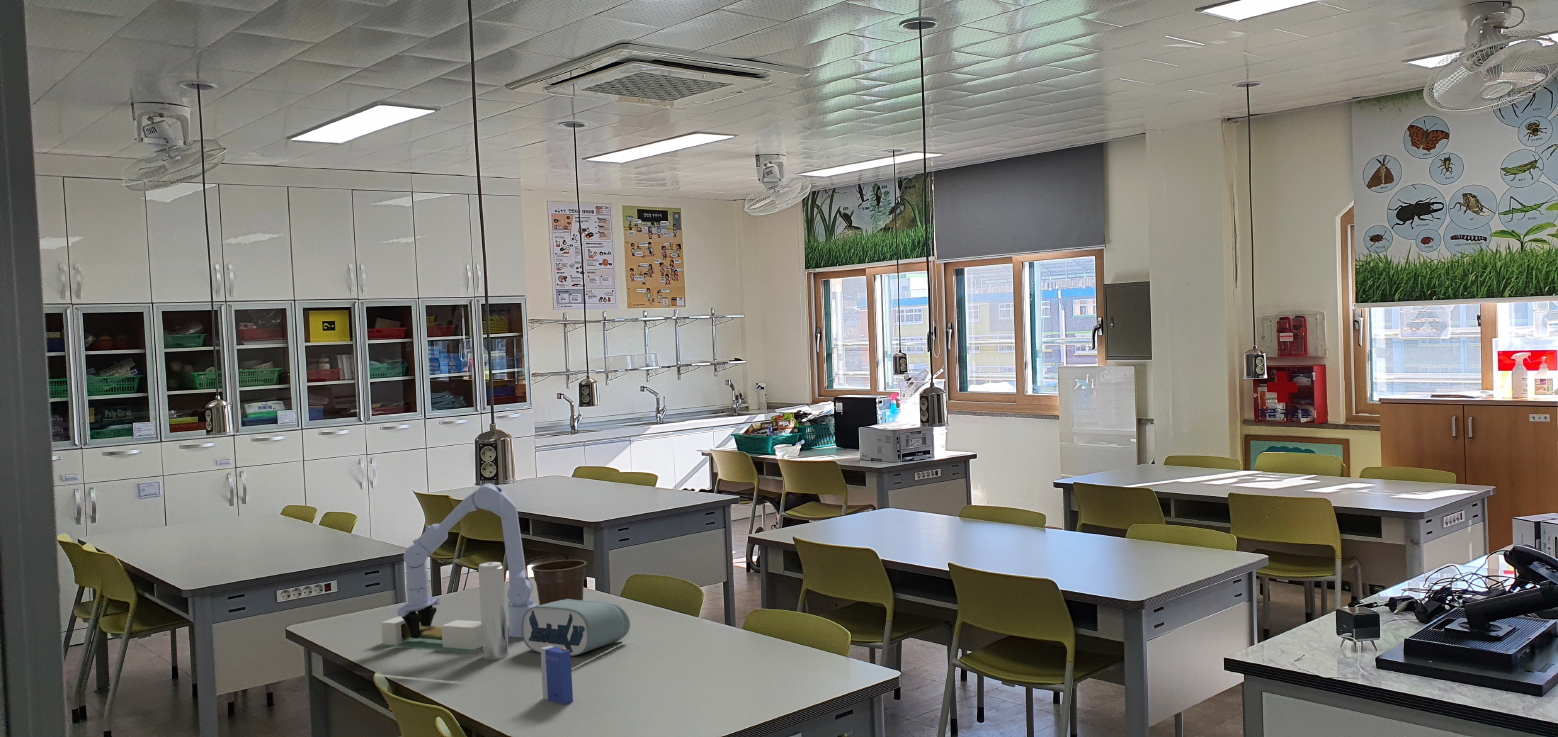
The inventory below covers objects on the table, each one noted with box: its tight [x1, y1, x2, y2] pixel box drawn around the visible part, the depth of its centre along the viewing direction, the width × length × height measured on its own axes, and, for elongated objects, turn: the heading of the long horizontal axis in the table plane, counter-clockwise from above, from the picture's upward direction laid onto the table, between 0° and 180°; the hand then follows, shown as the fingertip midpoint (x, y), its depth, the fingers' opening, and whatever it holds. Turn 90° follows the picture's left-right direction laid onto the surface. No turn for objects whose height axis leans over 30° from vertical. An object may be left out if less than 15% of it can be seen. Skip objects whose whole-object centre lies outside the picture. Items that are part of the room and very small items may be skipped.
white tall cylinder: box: [477, 561, 510, 661], centre depth 287 cm, size 6×6×25 cm
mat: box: [376, 638, 483, 654], centre depth 304 cm, size 32×12×1 cm, turn 66°
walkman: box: [540, 646, 574, 705], centre depth 249 cm, size 8×3×12 cm, turn 47°
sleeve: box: [441, 619, 483, 651], centre depth 300 cm, size 11×6×6 cm, turn 66°
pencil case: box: [522, 599, 631, 657], centre depth 293 cm, size 22×19×13 cm
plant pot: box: [531, 559, 587, 605], centre depth 328 cm, size 16×16×16 cm
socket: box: [381, 615, 414, 645], centre depth 309 cm, size 5×9×6 cm, turn 156°
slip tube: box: [401, 624, 442, 640], centre depth 304 cm, size 21×4×4 cm, turn 66°
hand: (420, 635), depth 306 cm, fingers closed on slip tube, 4 cm apart
